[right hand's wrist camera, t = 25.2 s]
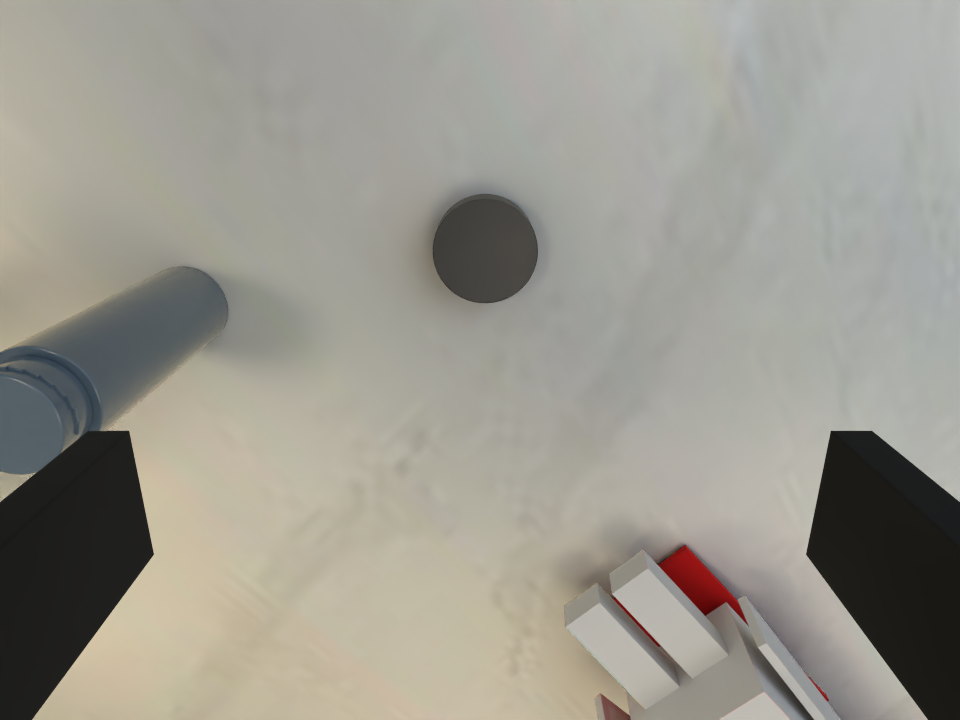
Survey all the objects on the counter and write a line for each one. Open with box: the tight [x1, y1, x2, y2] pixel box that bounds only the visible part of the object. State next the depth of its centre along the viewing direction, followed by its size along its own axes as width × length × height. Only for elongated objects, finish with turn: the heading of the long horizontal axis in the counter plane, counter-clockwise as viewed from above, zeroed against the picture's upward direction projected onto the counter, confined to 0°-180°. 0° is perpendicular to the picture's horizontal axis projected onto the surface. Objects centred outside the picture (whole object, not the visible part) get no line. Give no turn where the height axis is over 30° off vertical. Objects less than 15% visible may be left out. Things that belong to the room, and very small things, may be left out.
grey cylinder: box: [0, 267, 228, 474], centre depth 32 cm, size 5×5×16 cm
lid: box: [433, 194, 538, 303], centre depth 37 cm, size 6×6×2 cm
